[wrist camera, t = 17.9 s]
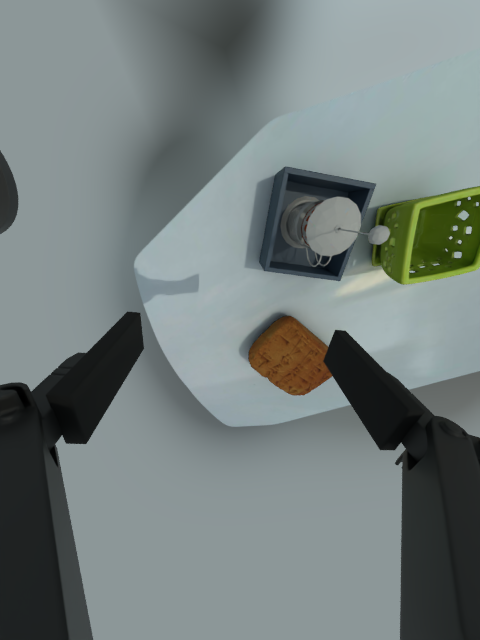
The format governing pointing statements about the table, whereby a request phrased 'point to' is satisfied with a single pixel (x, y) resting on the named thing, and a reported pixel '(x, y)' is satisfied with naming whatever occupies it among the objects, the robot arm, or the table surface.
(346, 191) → the tub
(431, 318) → the table surface
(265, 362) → the inscribed clay slab
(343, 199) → the french press
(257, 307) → the table surface
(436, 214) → the flower pot
